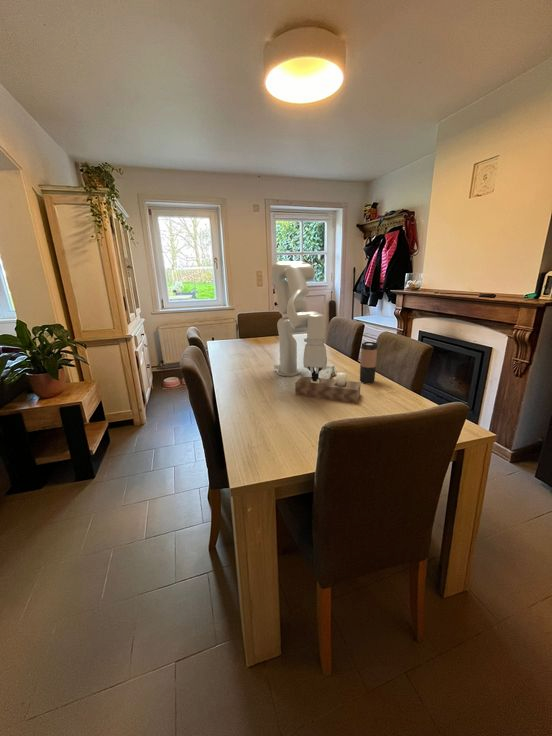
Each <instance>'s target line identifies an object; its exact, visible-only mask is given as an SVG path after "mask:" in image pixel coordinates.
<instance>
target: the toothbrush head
mask: <svg viewBox="0 0 552 736" xmlns="http://www.w3.org/2000/svg"><path fill="white" fill-rule="evenodd" d="M336 372H337V370H336V368H335V365H334V364H333V363H328V364H327V369H326V370H325V372H324V374H323V376H322V377H321V378H324V379H331V377H334V375H336Z"/></svg>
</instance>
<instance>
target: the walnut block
mask: <svg viewBox="0 0 552 736" xmlns="http://www.w3.org/2000/svg"><path fill="white" fill-rule="evenodd" d="M311 380H312V378H311V376H305V375H301V376H300V377H299V378H298V379H297V380H296V381H295V382H294V385H295V386H294V393H295V394H294V396H302V397H308V398H309V397H310V398H316V399H323V400H324V399H325V400H330V399H331V400H332V401H337V400H339V402H345V401H348V402H347V403H353V402H354V404H357V403H358V401H359V398H360V396H361V385H362V384H361V383H362V382H360V381H353V380H352V381H351V380H346V382H345V386H337V385H336V380H337V379H332V378H330V379H324V378H322V377H319V378H318V380H319V383H311ZM331 400H330V401H331Z"/></svg>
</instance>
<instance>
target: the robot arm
mask: <svg viewBox="0 0 552 736" xmlns="http://www.w3.org/2000/svg"><path fill="white" fill-rule="evenodd" d="M270 273H271V280H272V283H273V285H274V287H275V293H276V301H277V309H278V312H279V314H281V315H286V316H285V317H284V316H283V317H281V318H279V319H278V321H277V322H276V323H277V324H276V327H277V331H278V332H277V333H278V340H279V342H278V343H279V364H273V369H275V370H277V374H278V375H279V376H282V377H294V376H298V375H299V374H300V372H301V370H300V369H298V343H297V339H295V337H294V336H293V335H299V334H305V333H306V338H304V339H303V341H304V342H305V343H306V344H305V345H304V348H303V349H304V350H303V359H302V364H303V368H305V369H308V370H309V371H310V374H311V375H310V377H311V378H312V381H315V382H316V381H317V379H318V378H320V377H319V373H320V372H321V371H324V370H325V371H326V369H327V367H328V364H327V363H328V357H327V356H328V355H327V354H328V353H327V348H326V347H327V346H326V344H325V321H326V320H325V315H324V314H322V313H319V312H318V311H315V310H314V311H311V310H310V311H309V310H308V308H309V307H308V302H307V299H306V297H307V296H308V295H309V292H310V289H309V287H308V283H307V282H310V283H311V282H313V281H314V279H315V276H316V273H315V268H314V266H313V265H312V264H311V263H308V262H306V261H301V260H284V261H283V260H281V261H276V262H274V263H273V264H272V266H271V269H270Z"/></svg>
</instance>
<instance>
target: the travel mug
mask: <svg viewBox="0 0 552 736" xmlns="http://www.w3.org/2000/svg"><path fill="white" fill-rule="evenodd" d="M360 349H361V350H360V361H359V362H360V363H359V365H360V366H359V382H360V381H361V383H362V382H363V383H362V384H366V383H371V384H374V383H375V378H376V370H377V355H378V343H377V342H376V341H375V342H374V341H364V342H363V343H361V347H360ZM373 382H374V383H373Z"/></svg>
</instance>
